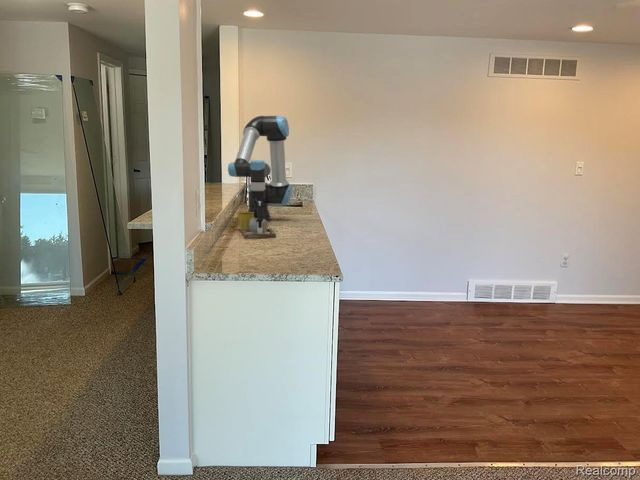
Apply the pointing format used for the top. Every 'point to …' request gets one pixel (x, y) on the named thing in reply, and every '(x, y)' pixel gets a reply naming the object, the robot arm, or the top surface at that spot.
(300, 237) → the top surface
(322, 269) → the top surface
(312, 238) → the top surface
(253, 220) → the ceramic mug
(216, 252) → the top surface
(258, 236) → the coaster tray
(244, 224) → the plant pot
